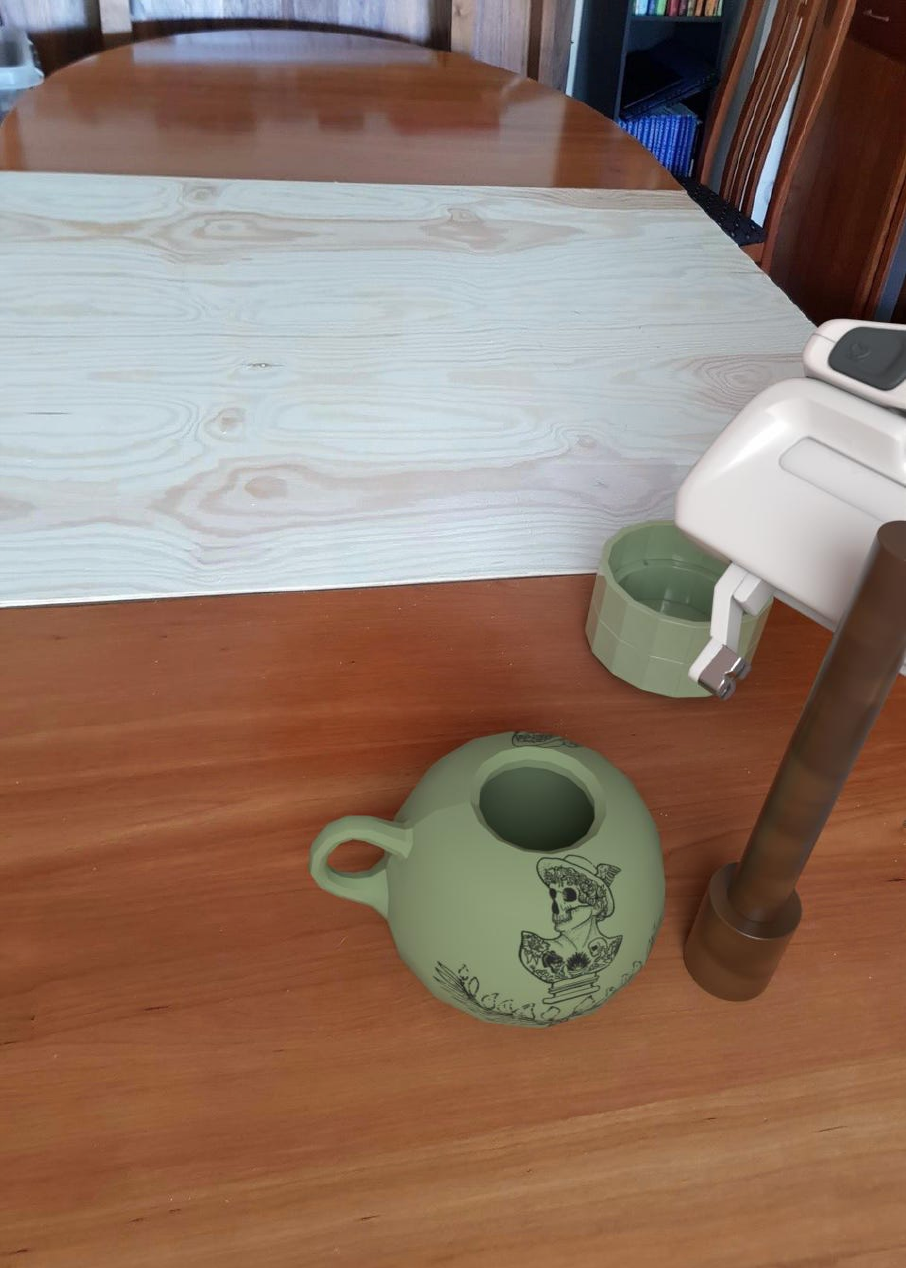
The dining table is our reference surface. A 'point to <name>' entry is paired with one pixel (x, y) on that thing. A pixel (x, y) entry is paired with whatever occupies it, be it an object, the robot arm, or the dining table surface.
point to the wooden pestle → (805, 785)
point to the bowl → (658, 609)
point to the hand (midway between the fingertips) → (807, 760)
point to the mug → (513, 878)
